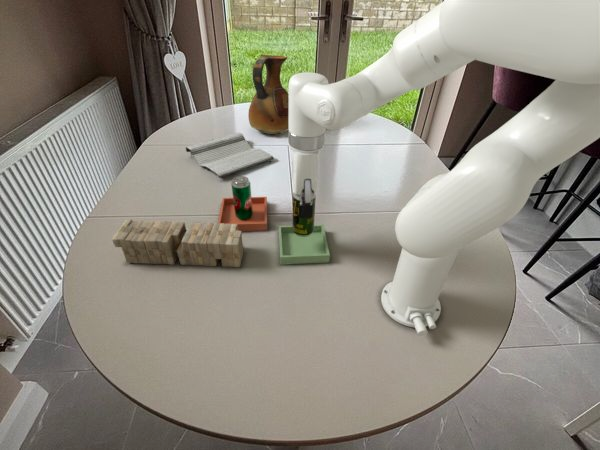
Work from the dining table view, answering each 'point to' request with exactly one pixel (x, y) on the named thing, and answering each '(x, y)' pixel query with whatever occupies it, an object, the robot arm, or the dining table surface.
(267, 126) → the ceramic pitcher
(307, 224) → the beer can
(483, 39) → the robot arm
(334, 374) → the dining table surface
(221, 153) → the mat
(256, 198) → the terracotta tray
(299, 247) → the green tray
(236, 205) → the soda can
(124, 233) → the block tower
